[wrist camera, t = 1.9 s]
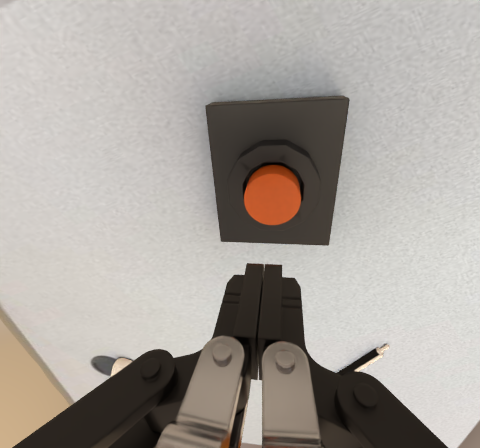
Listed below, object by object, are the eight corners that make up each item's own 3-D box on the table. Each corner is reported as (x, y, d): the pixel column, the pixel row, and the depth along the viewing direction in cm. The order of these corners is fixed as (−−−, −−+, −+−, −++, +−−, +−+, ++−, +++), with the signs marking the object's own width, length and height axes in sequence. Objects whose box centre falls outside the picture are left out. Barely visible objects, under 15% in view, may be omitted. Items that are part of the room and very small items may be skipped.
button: (245, 164, 19) (242, 173, 17) (301, 163, 18) (302, 173, 17) (248, 212, 21) (245, 224, 19) (298, 213, 20) (299, 226, 19)
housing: (212, 102, 20) (197, 108, 17) (343, 95, 19) (356, 100, 15) (225, 229, 26) (216, 253, 23) (325, 232, 25) (332, 258, 21)
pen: (389, 344, 32) (393, 352, 31) (299, 400, 41) (299, 408, 40) (384, 341, 32) (387, 349, 31) (294, 398, 41) (295, 406, 40)
